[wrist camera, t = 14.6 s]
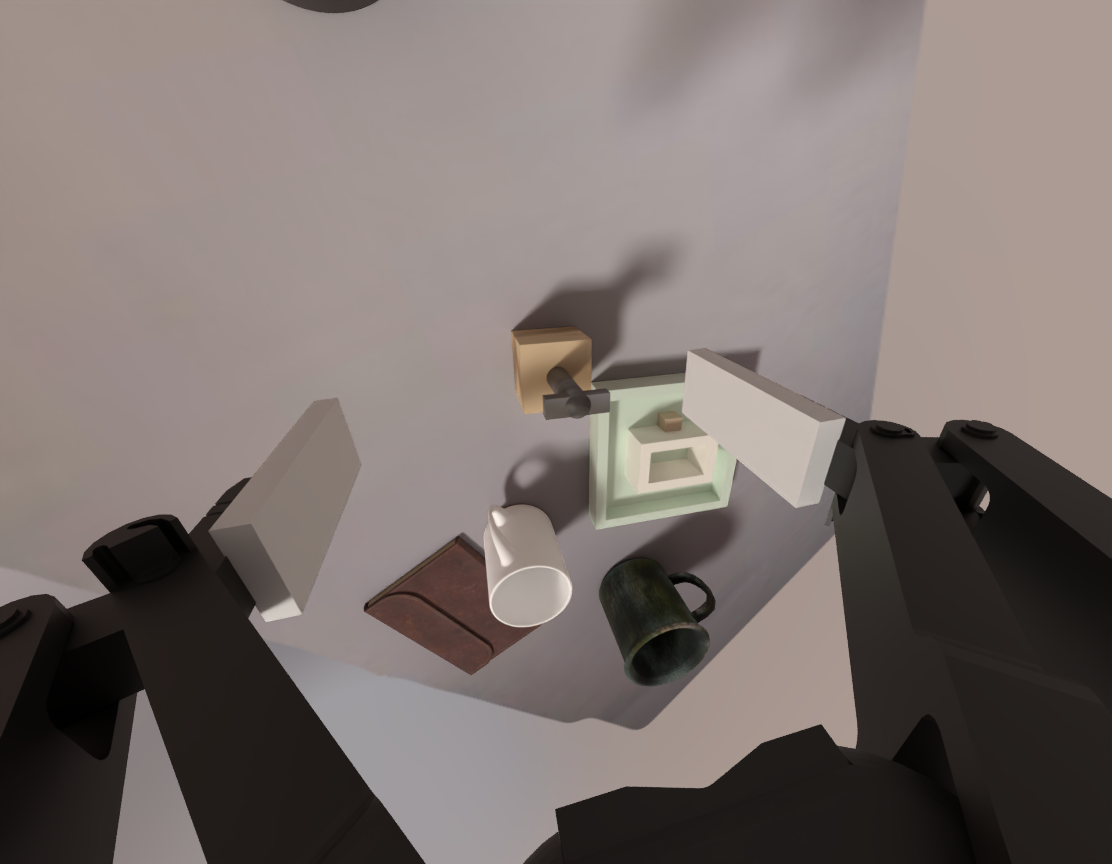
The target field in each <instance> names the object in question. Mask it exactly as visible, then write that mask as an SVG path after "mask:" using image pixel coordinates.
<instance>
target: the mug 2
mask: <svg viewBox="0 0 1112 864" xmlns="http://www.w3.org/2000/svg"><path fill="white" fill-rule="evenodd" d="M683 582H688V583H691V584H694V585H696V586H697V587H699V588H701V589H702V590H703V591H704V592H705V593H706V594H707V598H706V602H705V603H704V604H703V605H702V606H701V607H699V608H698V609H696V610H695V611H693V612H692V613H691V612H690V610H689V609H688V607H687V606H686V604H685V602H684V601H683V599H682V598H681V596H680V595H679V593H678V591H677V590H676V588H675V587H674V585H675V584H679V583H683ZM599 599H600V601H601V604H602V606H603V609H604V611H605V614H606V616H607V619H608V621H609V624H610V626H611V629H612V631H613V634H614V636H615V639H616V641H617V644H618V646H619V649H620V652H621V654H622V657H623V659H624V662H625V664H624V670H625V674H626V676H627V677H628V679H629V680H630V681H631V682H633V683H635V684H637V685H641V686H657V685H662V684H666V683H669V682H672V681H674V680H676V679H678V678H680V677H682V676H684V675H685V674H687V673H688V672H690V671H691V670H692V669H694V668H695V667H696V666H697V665H698V664H699V663H700V662H701V660H702V659H703V658H704V656H705V655H706V653H707V651H708V648H709V645H710V639H709V634H708V632H707V631H706V630H705V629H704V628H703V627H702V626H700V625H698V622H700V621H702V620H703V619H705V618H706V617H708V616H709V615H710V614H711V613H712V612H713V611H714V610H715V598H714V596H713V594H712V592H711V590H710V588H709V587H708V586H707V585H706V584H705V583H704V582H703V581H702V580H701V579H699V578H698V577H696V576H694V575H693V574H690V573H687V572H679V573H675V574H671V575H669V576H668V575H667V574H666V572H665V571H664V569H663V567H662V566H661V565H660V564H659V563H657V562H655V561H653V560H650V559H645V558H637V559H631V560H628V561H625V562H623V563H621V564H619V565H617V566H616V567H615V568H613V569H612V570H611V571H610V572H609V573H608V574H607V575H606V576H605V578H604V579H603V581H602V583H601V586H600V590H599Z"/></svg>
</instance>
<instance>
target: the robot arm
mask: <svg viewBox="0 0 1112 864" xmlns="http://www.w3.org/2000/svg"><path fill="white" fill-rule="evenodd" d="M283 1H286V2H288V3H290V4H293V5H295V6H298V7H301V8H304V9H308V10H312V11H317V12H324V13H344V12H350V11H355V10H358V9H362V8H364V7H366V6H369V5H371V4H373V3H374V2H376V1H378V0H283ZM682 413H683V414H684V415H685V416H686V417H687V418H689V419H690V420H691V421H692V422H693V423H695V424H696V425H697V426H698V427H699V428H701V429H702V430H703V431H704V432H705V433H707V434H708V435H709V436H710V437H711V438H713V439H714V440H715V441H716V442H717V443H719V444H720V445H721V446H722V447H723V448H725V449H726V450H727V451H728V452H729V453H731V454H732V455H733V456H734V457H735V458H737V459H738V460H739V461H740V462H741V463H743V464H744V465H745V466H746V467H747V468H749V469H750V470H751V471H752V472H753V473H755V474H756V475H757V476H758V477H759V478H761V479H762V480H763V481H764V482H765V483H766V484H768V485H769V486H770V487H771V488H772V489H774V490H775V491H776V492H777V493H778V494H780V495H781V496H782V497H783V498H784V499H786V500H787V501H788V502H789V503H790V504H792V505H793V506H794V507H795V508H798V507H803V506H807V505H812V504H816V503H819V501H820V498H821V495H822V492H823V489H824V486H825V485H826V486H827V487H829V488H830V489H832V490H833V491H834V492H836V493H835V496H834V498H833V501H832V504H831V507H830V510H829V513H828V516H827V519H826V522H825V525H827V526H829V525H830V523H831V521H834V528H835V537H836V545H837V553H838V562H839V571H840V580H841V588H842V595H843V596H842V597H843V605H844V614H845V622H846V630H847V639H848V648H849V657H850V665H851V674H852V682H853V691H854V699H855V708H856V717H857V727H858V737H857V745H856V749H853V748H847V747H842V746H837V745H836V744H835V742H834V741H833V740H832V738H831V737H830V736H829V734H828V733H827V731H826V730H825V729H824V727H823V726H822V725H817V726H814V727H811V728H808V729H805V730H801V731H799V732H796V733H792V734H789V735H786V736H783V737H780V738H776V739H773V740H770V741H767V742H764V743H761V744H760V745H759V746H758V747H757V748H756V749H754V750H753V751H752V752H750V754H748V755H747V756H746V757H745V758H743V759H742V760H741V761H740V762H739V763H737V764H736V765H735V766H734V767H732V768H731V769H730V770H729V771H728V772H726V773H725V774H724V775H723V776H722V777H720V778H719V779H718V780H717V781H715V782H714V783H713V784H712V785H710V786H708V787H705V788H662V787H623V788H620V789H617V790H614V791H611V792H608V793H605V794H601V795H598V796H595V797H592V798H589V799H586V800H583V801H580V802H576V803H574V804H570V805H567V806H564V807H561V808H558V809H555V811H556V818H557V824H558V830H559V833H558V832H557V833H556V834H554V835H553V836H552V837H550V838H549V839H548V840H546V841H545V842H544V843H542V844H541V846H540V847H539V848H538V849H536V851H535V852H534V853H533V854H532V855H531V856H530V857H529V858H528V859H527V860H526V861H525V862H524V863H523V864H1112V499H1111V498H1110V497H1108V496H1107V495H1105V494H1104V493H1102V492H1100V491H1099V490H1098V489H1096V488H1094V487H1093V486H1091V485H1090V484H1088V483H1087V482H1085V481H1084V480H1082V479H1081V478H1079V477H1078V476H1076V475H1075V474H1073V473H1071V472H1070V471H1068V470H1067V469H1065V468H1064V467H1062V466H1061V465H1059V464H1058V463H1056V462H1055V461H1053V460H1052V459H1050V458H1048V457H1047V456H1045V455H1044V454H1042V453H1041V452H1039V451H1037V450H1036V449H1034V448H1033V447H1032V446H1030V445H1029V444H1027V443H1025V442H1024V441H1022V440H1021V439H1019V438H1018V437H1016V436H1015V435H1013V434H1012V433H1010V432H1008V431H1006V430H1004V429H1002V428H999V427H996V426H993V425H992V424H990V423H987V422H981V421H977V420H972V421H968V420H952V421H949V422H946V424H945V426H944V428H943V430H942V432H941V434H940V437H920V435H919V434H918V433H917V432H916V431H914V430H912V429H911V428H908V427H906V426H903V425H900V424H896V423H893V422H887V421H877V420H870V421H864V422H861V423H857V422H855V421H853V420H851V419H848V418H846V417H844V416H842V415H840V414H838V413H836V412H834V411H832V410H830V409H828V408H825V407H824V406H822V405H820V404H818V403H815V402H814V401H812V400H810V399H808V398H806V397H804V396H802V395H799V394H797V393H795V392H793V391H791V390H789V389H787V388H785V387H783V386H781V385H779V384H777V383H775V382H773V381H771V380H769V379H767V378H765V377H763V376H761V375H759V374H757V373H755V372H753V371H751V370H749V369H747V368H745V367H743V366H741V365H739V364H737V363H735V362H733V361H730V360H728V359H726V358H724V357H722V356H720V355H718V354H716V353H714V352H712V351H710V350H708V349H706V348H702V349H695V350H688V355H687V365H686V375H685V385H684V396H683V406H682ZM360 467H361V462H360V459H359V456H358V453H357V451H356V448H355V445H354V442H353V439H352V437H351V434H350V431H349V428H348V425H347V422H346V420H345V417H344V414H343V411H342V408H341V406H340V403H339V400H338V398H333V399H325V400H318V401H314V402H313V403H312V404H311V405H310V407H309V408H308V409H307V410H306V411H305V413H304V414H303V415H302V416H301V418H300V419H299V420H298V421H297V423H296V424H295V425H294V426H293V427H292V429H291V430H290V431H289V432H288V434H287V435H286V436H285V437H284V439H283V440H282V441H281V442H280V443H279V445H278V446H277V447H276V448H275V450H274V451H273V452H272V453H271V455H270V456H269V457H268V458H267V459H266V461H265V462H264V463H263V464H262V466H261V467H260V468H259V469H258V471H257V472H256V473H255V474H254V475H253V477H250V478H244V479H243V480H241V481H240V482H238V483H237V484H236V485H234V486H233V487H231V488H230V489H228V490H227V491H226V492H225V493H224V494H223V495H222V497H221V498H220V499H219V500H218V501H217V502H216V503H215V504H216V506H213V507H212V508H211V509H210V510H209V512H208V513H207V514H206V517H203V518H202V520H201V521H200V522H199V523H198V524H197V525H196V526H195V528H194V529H193V530H192V531H191V532H190V533H189V534H188V533H187V531H186V530H185V528H184V527H183V525H182V524H181V522H180V521H179V519H178V518H177V517H175V516H173V515H155V516H151V517H146V518H142V519H139V520H137V521H134V522H131V523H128V524H126V525H124V526H122V527H120V528H118V529H115V530H113V531H111V532H109V533H108V534H106V535H105V536H103V537H102V538H100V539H99V540H97V541H96V542H94V543H93V544H92V545H91V546H90V547H89V548H88V549H87V550H86V551H85V552H84V555H83V558H82V561H83V562H84V563H85V564H86V566H87V567H88V568H89V569H90V570H91V571H92V572H93V574H94V575H95V576H96V577H97V578H98V579H99V580H100V582H101V583H102V584H103V585H104V586H105V587H106V588H107V590H108V591H109V592H110V593H109V594H107V595H104V596H101V597H99V598H96V599H93V600H90V601H87V602H85V603H82V604H79V605H76V606H74V607H71V608H69V609H66V608H65V607H64V606H63V605H62V604H61V603H60V602H59V601H58V600H57V599H56V598H55V597H54V596H50V595H48V594H42V595H33V596H29V597H26V598H23V599H19V600H16V601H13V602H10V603H8V604H6V605H4V606H2V607H0V864H113V857H114V850H115V843H116V835H117V829H118V822H119V815H120V808H121V801H122V794H123V787H124V780H125V774H126V766H127V759H128V752H129V746H130V738H131V732H132V724H133V718H134V710H135V704H136V697H137V692H139V691H141V690H144V689H145V691H146V693H147V696H148V699H149V702H150V705H151V708H152V710H153V713H154V716H155V719H156V721H157V724H158V727H159V730H160V733H161V735H162V738H163V741H164V744H165V747H166V749H167V752H168V755H169V758H170V760H171V763H172V766H173V769H174V772H175V774H176V777H177V780H178V783H179V785H180V788H181V791H182V794H183V797H184V799H185V802H186V805H187V808H188V810H189V813H190V816H191V819H192V822H193V824H194V827H195V830H196V833H197V836H198V838H199V841H200V844H201V847H202V850H203V853H204V855H205V858H206V861H207V864H425V862H424V861H423V859H422V858H421V857H420V855H419V854H418V852H417V851H416V850H415V848H414V847H413V845H412V844H411V843H410V841H409V840H408V839H407V837H406V836H405V835H404V833H403V832H402V830H401V829H400V827H399V826H398V825H397V823H396V822H395V820H394V819H393V818H392V816H391V815H390V814H389V812H388V811H387V810H386V808H385V807H384V806H383V804H382V803H381V802H380V800H379V799H378V798H377V797H376V796H375V795H374V794H373V792H372V791H371V790H370V788H369V787H368V785H367V784H366V783H365V781H364V780H363V779H362V777H361V776H360V774H359V773H358V772H357V770H356V769H355V767H354V766H353V764H352V763H351V762H350V760H349V759H348V758H347V756H346V755H345V753H344V752H343V751H342V749H341V748H340V746H339V745H338V744H337V742H336V741H335V739H334V738H333V737H332V735H331V734H330V732H329V731H328V730H327V728H326V727H325V726H324V724H323V723H322V721H321V720H320V718H319V717H318V716H317V714H316V713H315V712H314V710H313V709H312V707H311V706H310V705H309V703H308V702H307V700H306V699H305V697H304V696H303V695H302V693H301V692H300V691H299V689H298V688H297V686H296V685H295V683H294V682H293V681H292V679H291V678H290V676H289V675H288V674H287V672H286V671H285V669H284V668H283V667H282V665H281V664H280V663H279V661H278V660H277V658H276V657H275V656H274V654H273V653H272V651H271V650H270V648H269V647H268V646H267V644H266V643H265V641H264V640H263V639H262V637H261V636H260V635H259V633H258V632H257V630H256V629H255V628H254V626H253V625H252V623H251V622H250V621H249V619H248V618H249V616H250V614H251V612H252V610H253V608H254V606H255V605H256V607H257V609H258V610H259V612H260V613H261V615H262V616H263V618H264V620H265V621H266V622H269V621H273V620H278V619H283V618H287V617H292V616H297V615H301V614H302V613H303V611H304V608H305V606H306V603H307V601H308V598H309V595H310V593H311V590H312V588H313V585H314V583H315V580H316V578H317V575H318V573H319V570H320V568H321V565H322V563H323V560H324V558H325V555H326V553H327V550H328V548H329V545H330V543H331V540H332V538H333V535H334V533H335V530H336V528H337V525H338V523H339V520H340V518H341V515H342V513H343V510H344V508H345V505H346V503H347V500H348V498H349V495H350V493H351V490H352V487H353V485H354V482H355V480H356V477H357V475H358V472H359V470H360ZM987 491H989V494H990V502H989V505H988V507H987V509H986V511H984V510H983V509H982V508H981V507H980V506H979V505H980V503H981V502H982V500H983V498H984V496H985V494H986V493H987ZM559 837H560V838H559Z"/></svg>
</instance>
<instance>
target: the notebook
mask: <svg viewBox="0 0 1112 864" xmlns="http://www.w3.org/2000/svg"><path fill="white" fill-rule="evenodd" d="M364 612H366V613H368V614H369V615H371V616H373V617H374V618H376V619H378V620H379V621H381V622H383V623H384V624H386V625H388V626H389V627H391V628H393V629H394V630H396V631H398V632H399V633H401V634H403V635H405V636H406V637H408V638H410V639H411V640H413V641H415V642H416V643H418V644H420V645H421V646H423V647H425V648H426V649H428V650H430V651H431V652H433V653H435V654H436V655H438V656H440V657H441V658H443V659H445V660H446V661H448V662H450V663H451V664H453V665H455V666H456V667H458V668H460V669H461V670H463V671H465V672H466V673H468V674H470V675H472V674H474V673H475V672H477V671H478V670H479V669H481V668H482V667H484V666H485V665H486V664H488V662H489V661H490V660H491V659H493V658H494V657H496V656H497V655H499V654H500V653H501V652H503V651H504V650H506V649H507V648H509V647H510V646H512V645H513V644H515V643H516V642H517V641H519V640H520V639H522V638H523V637H525V636H526V635H528V634H529V633H530V632H532V631H533V630H535V629H536V628H538V627H539V626H541V625H542V624H543V623H542V624H539V625H536V626H530V627H514V626H510V625H507V624H504V623H502V622H501V621H499V620H498V619H497V618H496V617H495V616H494V615H493V613H492V611H491V609H490V604H489V593H488V582H487V571H486V560H485V558H484V557H483V556H482V555H481V554H479V553H478V552H477V551H476V550H474V549H473V548H472V547H471V546H470V545H468V544H467V543H466V542H465V541H464V540H462V539H461V538H460V537H459V536H457V539H454V540H453V541H452V542H450V543H449V544H447V545H446V546H445V547H443V548H442V549H441V550H439V551H438V552H436V553H435V554H434V555H432V556H431V557H430V558H428V559H427V560H425V561H424V562H423V563H421V564H420V565H419V566H417V567H416V568H415V569H413V570H412V571H410V572H409V573H408V574H406V575H405V576H404V577H402V578H401V579H399V580H398V581H397V582H395V583H394V584H393V585H391V586H390V587H388V588H387V589H386V590H384V591H383V592H382V593H380V594H379V595H378V596H376V597H375V598H373V599H372V600H371V601H369V603H365V606H364Z"/></svg>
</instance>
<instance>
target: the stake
mask: <svg viewBox="0 0 1112 864" xmlns="http://www.w3.org/2000/svg"><path fill="white" fill-rule="evenodd" d="M511 335H512V348H513V361H514V374H515V386H516V393H517V396H518V399H519V401H520V404H521V406H522V409H523V411H524V414H529V413H538V412H543V415H544V417H545V419H546V420H549V419H558V418H566V417H572V418H576V419H578V418H582V417H584V416H585V415H591V414H600V413H608V412H610V392H609V391H608V390H607V389H606V388H604V389H595V390H591V361H592V339H591V338H589V337H588V336H587V335H585V334H584V333H583V332H581V331H580V330H579V329H577V328H576V327H574V326H569V327H556V328H543V329H530V330H516V331H511Z"/></svg>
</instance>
